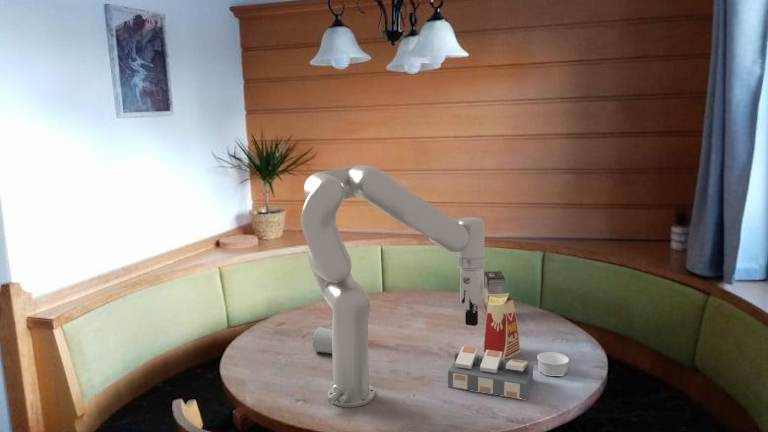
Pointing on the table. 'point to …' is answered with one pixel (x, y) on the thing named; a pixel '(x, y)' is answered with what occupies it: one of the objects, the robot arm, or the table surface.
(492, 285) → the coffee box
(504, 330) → the milk carton
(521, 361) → the rocker
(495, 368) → the block
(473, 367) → the switch unit
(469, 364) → the rocker
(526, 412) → the table surface
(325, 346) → the ceramic mug
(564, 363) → the ramekin
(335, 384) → the robot arm
